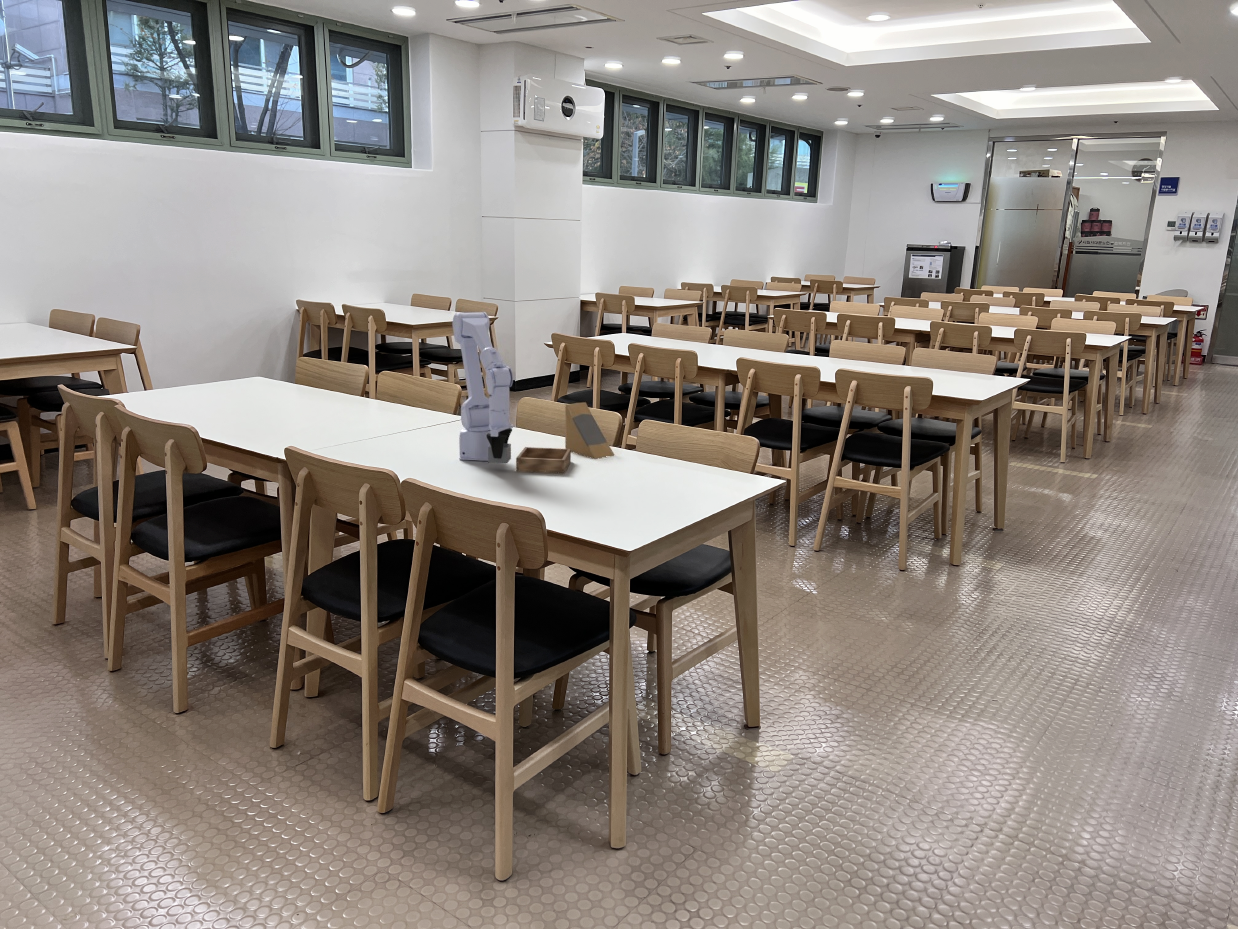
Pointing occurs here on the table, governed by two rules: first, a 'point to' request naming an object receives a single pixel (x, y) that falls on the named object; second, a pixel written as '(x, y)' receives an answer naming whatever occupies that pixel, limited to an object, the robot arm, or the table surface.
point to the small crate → (505, 454)
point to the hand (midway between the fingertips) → (499, 455)
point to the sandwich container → (584, 432)
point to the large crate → (543, 460)
